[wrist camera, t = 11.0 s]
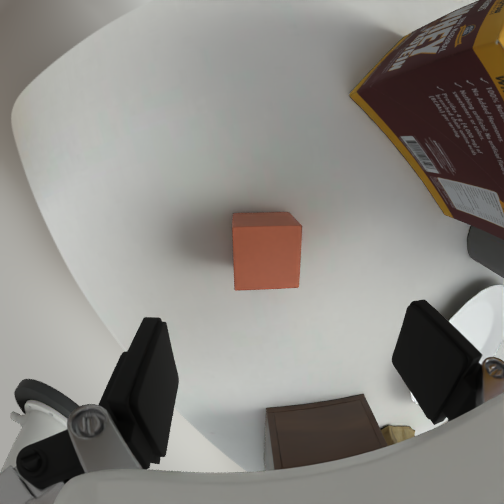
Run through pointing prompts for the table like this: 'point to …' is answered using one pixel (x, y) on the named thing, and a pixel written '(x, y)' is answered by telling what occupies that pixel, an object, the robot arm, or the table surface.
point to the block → (266, 250)
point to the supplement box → (448, 110)
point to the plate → (482, 321)
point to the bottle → (486, 250)
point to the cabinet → (320, 433)
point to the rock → (397, 434)
